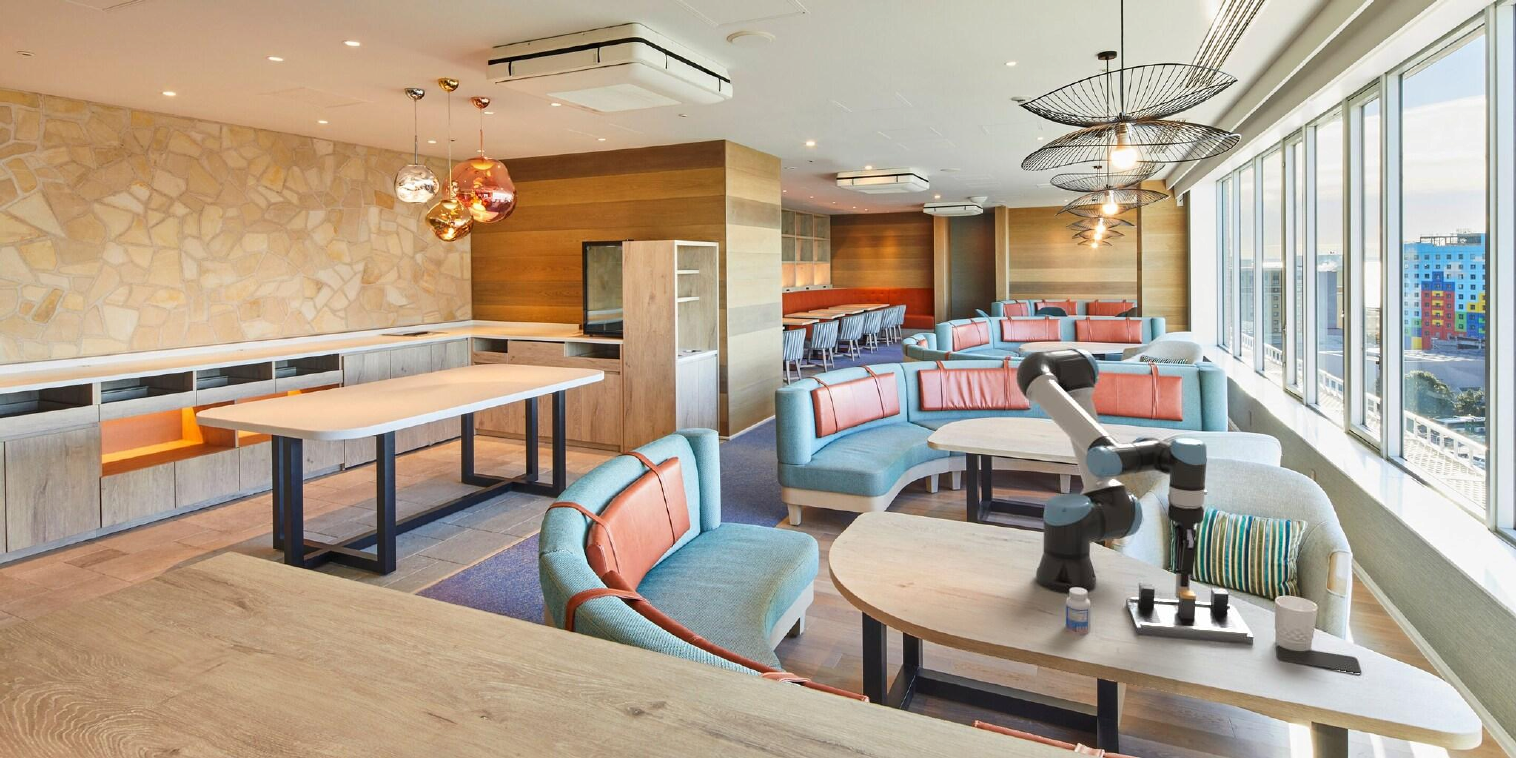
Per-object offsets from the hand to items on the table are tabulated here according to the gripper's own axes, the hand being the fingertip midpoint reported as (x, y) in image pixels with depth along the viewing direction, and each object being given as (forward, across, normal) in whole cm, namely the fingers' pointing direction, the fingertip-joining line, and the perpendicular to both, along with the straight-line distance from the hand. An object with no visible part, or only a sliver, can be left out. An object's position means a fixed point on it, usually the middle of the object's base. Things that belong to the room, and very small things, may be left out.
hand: (1182, 597), depth 200 cm
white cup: (+5, -12, -20) cm, 24 cm away
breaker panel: (+5, -5, 0) cm, 7 cm away
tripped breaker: (+2, -5, 0) cm, 6 cm away
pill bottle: (+5, -12, +25) cm, 28 cm away
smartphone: (+5, -18, -23) cm, 30 cm away
